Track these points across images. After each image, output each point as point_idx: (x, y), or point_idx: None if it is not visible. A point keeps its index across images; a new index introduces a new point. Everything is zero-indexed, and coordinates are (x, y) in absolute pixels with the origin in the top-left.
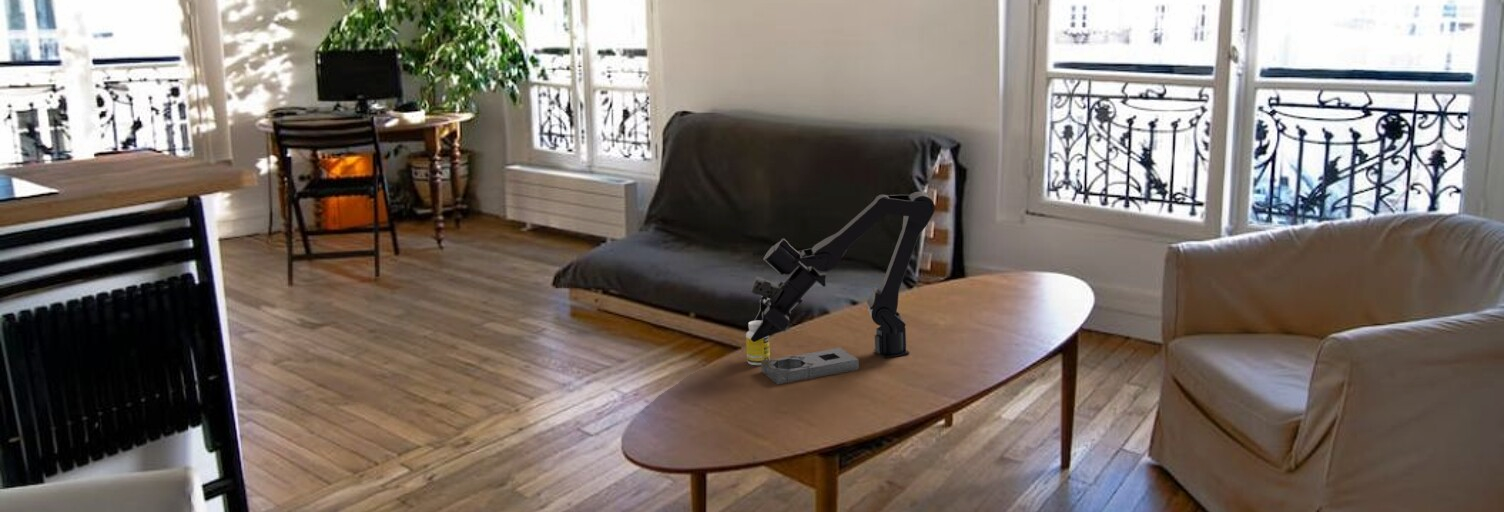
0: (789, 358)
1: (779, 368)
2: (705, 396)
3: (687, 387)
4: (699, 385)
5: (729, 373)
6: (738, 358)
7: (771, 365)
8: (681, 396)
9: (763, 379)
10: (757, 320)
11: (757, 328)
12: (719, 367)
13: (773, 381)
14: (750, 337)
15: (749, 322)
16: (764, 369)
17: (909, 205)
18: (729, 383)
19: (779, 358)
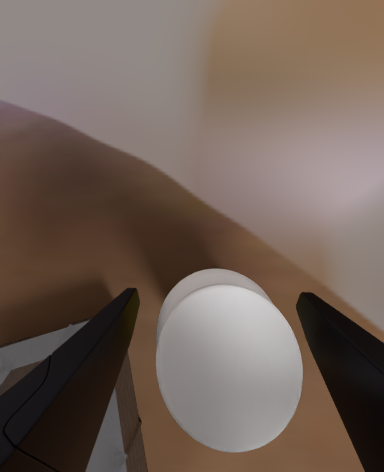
0: (98, 441)
1: (4, 378)
2: (9, 174)
3: (78, 142)
4: (80, 162)
5: (137, 225)
6: (256, 252)
7: (48, 350)
8: (33, 134)
9: (58, 310)
10: (297, 374)
11: (78, 348)
12: (190, 203)
13: (28, 338)
14: (173, 288)
15: (244, 293)
16: (81, 321)
17: None
18: (66, 223)
19: (114, 393)
